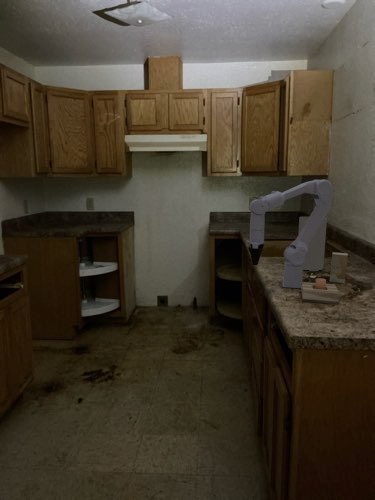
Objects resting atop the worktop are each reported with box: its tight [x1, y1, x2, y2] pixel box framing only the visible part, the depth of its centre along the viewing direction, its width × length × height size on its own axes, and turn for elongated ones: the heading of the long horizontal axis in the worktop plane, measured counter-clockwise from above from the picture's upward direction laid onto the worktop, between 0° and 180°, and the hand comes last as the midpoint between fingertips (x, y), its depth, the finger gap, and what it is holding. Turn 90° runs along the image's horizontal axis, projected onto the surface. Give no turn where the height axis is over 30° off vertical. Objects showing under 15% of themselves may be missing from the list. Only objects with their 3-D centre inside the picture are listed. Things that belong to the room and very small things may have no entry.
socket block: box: [300, 281, 340, 305], centre depth 140 cm, size 12×12×4 cm
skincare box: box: [329, 251, 349, 284], centre depth 162 cm, size 6×4×12 cm
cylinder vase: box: [297, 216, 328, 272], centre depth 184 cm, size 12×12×25 cm
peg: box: [315, 277, 327, 290], centre depth 139 cm, size 4×4×6 cm
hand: (255, 263), depth 154 cm, fingers open, 7 cm apart
